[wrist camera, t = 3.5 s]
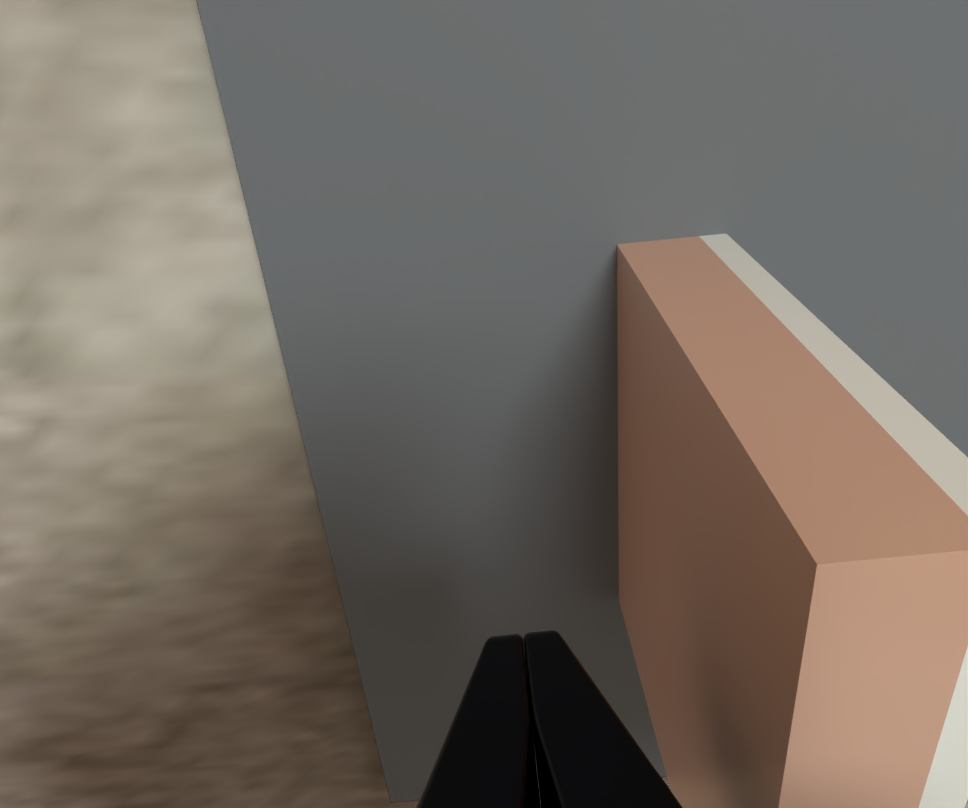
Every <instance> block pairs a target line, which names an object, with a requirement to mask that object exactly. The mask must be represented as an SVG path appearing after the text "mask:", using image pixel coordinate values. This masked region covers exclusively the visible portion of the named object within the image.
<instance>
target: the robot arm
mask: <svg viewBox="0 0 968 808" xmlns="http://www.w3.org/2000/svg"><path fill="white" fill-rule="evenodd" d="M523 643H524V646H523ZM524 652H525V655H524ZM525 662H526V664H525ZM526 672H527V673H526ZM535 756H536V757H535ZM536 765H537V767H536ZM537 774H538V777H537ZM538 783H539V786H538ZM539 793H540V796H539ZM540 802H541V806H540ZM417 808H683V807H682V806H681V805H680V803H679V802H678V800H677V799H676V798H675V796H674V795H673V793H672V792H671V790H670V789H669V788H668V786H667V785H666V783H665V782H664V780H663V779H662V778H661V776H660V775H659V773H658V772H657V771H656V769H655V768H654V766H653V765H652V763H651V762H650V761H649V759H648V758H647V756H646V755H645V754H644V752H643V751H642V749H641V748H640V746H639V745H638V744H637V742H636V741H635V739H634V738H633V736H632V735H631V734H630V732H629V731H628V729H627V728H626V727H625V725H624V724H623V722H622V721H621V719H620V718H619V717H618V715H617V714H616V712H615V711H614V710H613V708H612V707H611V705H610V704H609V702H608V701H607V700H606V698H605V697H604V695H603V694H602V692H601V691H600V690H599V688H598V687H597V685H596V684H595V683H594V681H593V680H592V678H591V677H590V675H589V674H588V673H587V671H586V670H585V668H584V667H583V666H582V664H581V663H580V661H579V660H578V658H577V657H576V656H575V654H574V653H573V651H572V650H571V648H570V647H569V646H568V644H567V643H566V641H565V640H564V639H563V637H562V636H561V635H560V634H559V633H558V632H557V631H555V630H550V631H540V632H530V633H527V634H525V635H524V638H523V639H522V637H521V636H520V635H519V634H510V635H500V636H492V637H489V638H488V639H487V641H486V642H485V644H484V646H483V649H482V651H481V653H480V656H479V658H478V661H477V663H476V666H475V668H474V670H473V673H472V675H471V678H470V680H469V682H468V685H467V687H466V690H465V692H464V694H463V697H462V699H461V702H460V704H459V706H458V709H457V711H456V714H455V716H454V718H453V721H452V723H451V726H450V728H449V731H448V733H447V735H446V738H445V740H444V743H443V745H442V747H441V750H440V752H439V755H438V757H437V759H436V762H435V764H434V767H433V769H432V771H431V774H430V776H429V779H428V781H427V783H426V786H425V788H424V791H423V793H422V796H421V798H420V800H419V803H418V805H417Z"/></svg>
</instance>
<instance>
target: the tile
mask: <svg viewBox="0 0 968 808" xmlns="http://www.w3.org/2000/svg"><path fill="white" fill-rule="evenodd" d="M617 346H618V530H619V603H620V606H621V610H622V614H623V617H624V621H625V625H626V628H627V632H628V636H629V639H630V643H631V647H632V651H633V654H634V658H635V662H636V665H637V669H638V673H639V676H640V680H641V684H642V687H643V691H644V695H645V698H646V702H647V706H648V710H649V713H650V717H651V721H652V724H653V728H654V732H655V735H656V739H657V743H658V746H659V750H660V754H661V757H662V761H663V765H664V768H665V772H666V776H667V780H668V783H669V787H670V790H671V792H672V793H673V795H674V796H675V798H676V799H677V800H678V802H679V803H680V805H681V806H682V807H683V808H964V807H965V805H966V802H967V799H968V457H967V456H966V455H965V454H963V453H962V452H961V451H960V450H959V449H958V448H957V447H956V446H955V445H954V444H953V443H952V442H951V441H949V440H948V439H947V438H946V437H945V436H944V435H943V434H942V433H941V432H940V431H939V430H938V429H936V428H935V427H934V426H933V425H932V424H931V423H930V422H929V421H928V420H927V419H926V418H925V417H924V416H922V415H921V414H920V413H919V412H918V411H917V410H916V409H915V408H914V407H913V406H912V405H911V404H910V403H908V402H907V401H906V400H905V399H904V398H903V397H902V396H901V395H900V394H899V393H898V392H897V391H896V390H894V389H893V388H892V387H891V386H890V385H889V384H888V383H887V382H886V381H885V380H884V379H883V378H882V377H880V376H879V375H878V374H877V373H876V372H875V371H874V370H873V369H872V368H871V367H870V366H869V365H868V364H866V363H865V362H864V361H863V360H862V359H861V358H860V357H859V356H858V355H857V354H856V353H855V352H853V351H852V350H851V349H850V348H849V347H848V346H847V345H846V344H845V343H844V342H843V341H842V340H841V339H839V338H838V337H837V336H836V335H835V334H834V333H833V332H832V331H831V330H830V329H829V328H828V327H827V326H825V325H824V324H823V323H822V322H821V321H820V320H819V319H818V318H817V317H816V316H815V315H814V314H813V313H811V312H810V311H809V310H808V309H807V308H806V307H805V306H804V305H803V304H802V303H801V302H800V301H799V300H797V299H796V298H795V297H794V296H793V295H792V294H791V293H790V292H789V291H788V290H787V289H786V288H784V287H783V286H782V285H781V284H780V283H779V282H778V281H777V280H776V279H775V278H774V277H773V276H772V275H770V274H769V273H768V272H767V271H766V270H765V269H764V268H763V267H762V266H761V265H760V264H759V263H758V262H756V261H755V260H754V259H753V258H752V257H751V256H750V255H749V254H748V253H747V252H746V251H745V250H744V249H742V248H741V247H740V246H739V245H738V244H737V243H736V242H735V241H734V240H733V239H732V238H731V237H730V236H728V235H727V234H726V233H725V234H715V235H705V236H695V237H685V238H675V239H665V240H655V241H645V242H635V243H625V244H617Z"/></svg>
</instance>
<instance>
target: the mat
mask: <svg viewBox="0 0 968 808" xmlns="http://www.w3.org/2000/svg"><path fill="white" fill-rule="evenodd" d="M196 1H197V5H198V9H199V13H200V17H201V21H202V26H203V30H204V34H205V38H206V42H207V46H208V50H209V54H210V59H211V63H212V67H213V71H214V75H215V79H216V83H217V87H218V92H219V96H220V100H221V104H222V108H223V112H224V116H225V120H226V125H227V129H228V133H229V137H230V141H231V145H232V149H233V154H234V158H235V162H236V166H237V170H238V174H239V178H240V182H241V187H242V191H243V195H244V199H245V203H246V207H247V211H248V215H249V220H250V224H251V228H252V232H253V236H254V240H255V244H256V248H257V253H258V257H259V261H260V265H261V269H262V273H263V277H264V281H265V286H266V290H267V294H268V298H269V302H270V306H271V310H272V314H273V319H274V323H275V327H276V331H277V335H278V339H279V343H280V347H281V352H282V356H283V360H284V364H285V368H286V372H287V376H288V380H289V385H290V389H291V393H292V397H293V401H294V405H295V409H296V413H297V418H298V422H299V426H300V430H301V434H302V438H303V442H304V446H305V451H306V455H307V459H308V463H309V467H310V471H311V475H312V479H313V484H314V488H315V492H316V496H317V500H318V504H319V508H320V512H321V517H322V521H323V525H324V529H325V533H326V537H327V541H328V546H329V550H330V554H331V558H332V562H333V566H334V570H335V574H336V579H337V583H338V587H339V591H340V595H341V599H342V603H343V607H344V612H345V616H346V620H347V624H348V628H349V632H350V636H351V640H352V645H353V649H354V653H355V657H356V661H357V665H358V669H359V673H360V678H361V682H362V686H363V690H364V694H365V698H366V702H367V706H368V711H369V715H370V719H371V723H372V727H373V731H374V735H375V739H376V744H377V748H378V752H379V756H380V760H381V764H382V768H383V772H384V777H385V781H386V785H387V789H388V793H389V797H390V801H391V803H394V802H405V801H416V800H420V798H421V796H422V793H423V791H424V788H425V786H426V783H427V781H428V779H429V776H430V774H431V771H432V769H433V767H434V764H435V762H436V759H437V757H438V755H439V752H440V750H441V747H442V745H443V743H444V740H445V738H446V735H447V733H448V731H449V728H450V726H451V723H452V721H453V718H454V716H455V714H456V711H457V709H458V706H459V704H460V702H461V699H462V697H463V694H464V692H465V690H466V687H467V685H468V682H469V680H470V678H471V675H472V673H473V670H474V668H475V666H476V663H477V661H478V658H479V656H480V653H481V651H482V649H483V646H484V644H485V642H486V641H487V639H488V638H489V637H492V636H500V635H510V634H519V635H520V636H521V637H522V639H523V638H524V635H525V634H527V633H530V632H540V631H550V630H555V631H557V632H558V633H559V634H560V635H561V636H562V637H563V639H564V640H565V641H566V643H567V644H568V646H569V647H570V648H571V650H572V651H573V653H574V654H575V656H576V657H577V658H578V660H579V661H580V663H581V664H582V666H583V667H584V668H585V670H586V671H587V673H588V674H589V675H590V677H591V678H592V680H593V681H594V683H595V684H596V685H597V687H598V688H599V690H600V691H601V692H602V694H603V695H604V697H605V698H606V700H607V701H608V702H609V704H610V705H611V707H612V708H613V710H614V711H615V712H616V714H617V715H618V717H619V718H620V719H621V721H622V722H623V724H624V725H625V727H626V728H627V729H628V731H629V732H630V734H631V735H632V736H633V738H634V739H635V741H636V742H637V744H638V745H639V746H640V748H641V749H642V751H643V752H644V754H645V755H646V756H647V758H648V759H649V761H650V762H651V763H652V765H653V766H654V768H655V769H656V771H657V772H658V773H659V775H660V776H661V778H663V777H667V776H666V772H665V768H664V765H663V761H662V757H661V754H660V750H659V746H658V743H657V739H656V735H655V732H654V728H653V724H652V721H651V717H650V713H649V710H648V706H647V702H646V698H645V695H644V691H643V687H642V684H641V680H640V676H639V673H638V669H637V665H636V662H635V658H634V654H633V651H632V647H631V643H630V639H629V636H628V632H627V628H626V625H625V621H624V617H623V614H622V610H621V606H620V603H619V530H618V346H617V244H625V243H635V242H645V241H655V240H665V239H675V238H685V237H695V236H705V235H715V234H725V233H726V234H727V235H728V236H730V237H731V238H732V239H733V240H734V241H735V242H736V243H737V244H738V245H739V246H740V247H741V248H742V249H744V250H745V251H746V252H747V253H748V254H749V255H750V256H751V257H752V258H753V259H754V260H755V261H756V262H758V263H759V264H760V265H761V266H762V267H763V268H764V269H765V270H766V271H767V272H768V273H769V274H770V275H772V276H773V277H774V278H775V279H776V280H777V281H778V282H779V283H780V284H781V285H782V286H783V287H784V288H786V289H787V290H788V291H789V292H790V293H791V294H792V295H793V296H794V297H795V298H796V299H797V300H799V301H800V302H801V303H802V304H803V305H804V306H805V307H806V308H807V309H808V310H809V311H810V312H811V313H813V314H814V315H815V316H816V317H817V318H818V319H819V320H820V321H821V322H822V323H823V324H824V325H825V326H827V327H828V328H829V329H830V330H831V331H832V332H833V333H834V334H835V335H836V336H837V337H838V338H839V339H841V340H842V341H843V342H844V343H845V344H846V345H847V346H848V347H849V348H850V349H851V350H852V351H853V352H855V353H856V354H857V355H858V356H859V357H860V358H861V359H862V360H863V361H864V362H865V363H866V364H868V365H869V366H870V367H871V368H872V369H873V370H874V371H875V372H876V373H877V374H878V375H879V376H880V377H882V378H883V379H884V380H885V381H886V382H887V383H888V384H889V385H890V386H891V387H892V388H893V389H894V390H896V391H897V392H898V393H899V394H900V395H901V396H902V397H903V398H904V399H905V400H906V401H907V402H908V403H910V404H911V405H912V406H913V407H914V408H915V409H916V410H917V411H918V412H919V413H920V414H921V415H922V416H924V417H925V418H926V419H927V420H928V421H929V422H930V423H931V424H932V425H933V426H934V427H935V428H936V429H938V430H939V431H940V432H941V433H942V434H943V435H944V436H945V437H946V438H947V439H948V440H949V441H951V442H952V443H953V444H954V445H955V446H956V447H957V448H958V449H959V450H960V451H961V452H962V453H963V454H965V455H966V456H967V457H968V0H196ZM523 646H524V643H523ZM524 655H525V652H524ZM525 664H526V662H525ZM526 673H527V672H526ZM535 757H536V756H535ZM536 767H537V765H536ZM537 777H538V774H537ZM538 786H539V783H538Z"/></svg>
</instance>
